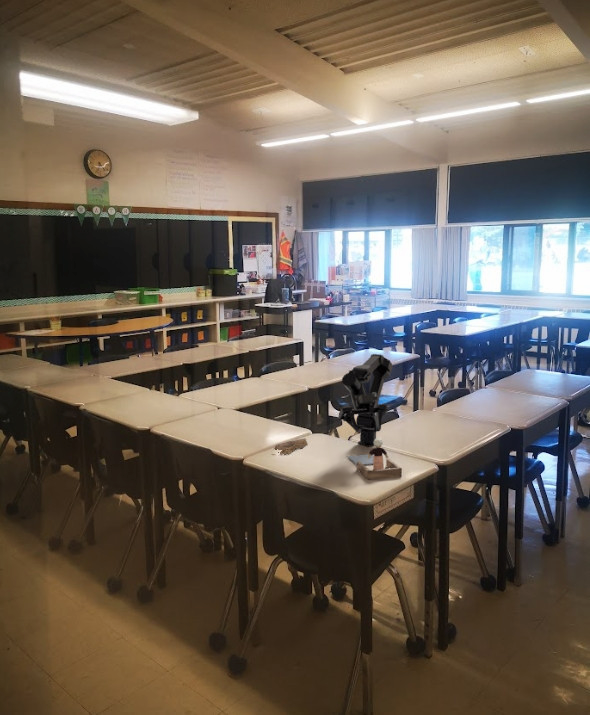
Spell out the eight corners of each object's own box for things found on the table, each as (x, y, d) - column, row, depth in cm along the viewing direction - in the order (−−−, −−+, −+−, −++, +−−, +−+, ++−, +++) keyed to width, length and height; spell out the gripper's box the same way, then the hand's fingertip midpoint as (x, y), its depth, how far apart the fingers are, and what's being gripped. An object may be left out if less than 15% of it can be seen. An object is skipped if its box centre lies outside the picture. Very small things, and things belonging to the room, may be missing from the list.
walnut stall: (356, 469, 224) (356, 461, 224) (388, 466, 228) (388, 458, 227) (368, 479, 214) (368, 471, 213) (401, 476, 217) (401, 468, 217)
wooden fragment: (283, 458, 237) (283, 455, 237) (261, 453, 243) (261, 450, 243) (318, 442, 258) (318, 439, 258) (297, 437, 264) (297, 435, 264)
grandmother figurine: (384, 468, 225) (385, 436, 223) (388, 471, 222) (389, 439, 220) (365, 470, 223) (366, 437, 221) (370, 474, 219) (370, 440, 217)
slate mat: (347, 457, 237) (347, 456, 237) (371, 455, 240) (371, 454, 240) (357, 466, 228) (357, 464, 227) (381, 463, 230) (381, 462, 230)
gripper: (341, 386, 228) (351, 422, 219) (386, 383, 233) (398, 418, 224) (334, 401, 237) (343, 436, 228) (378, 398, 242) (388, 432, 233)
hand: (368, 430), depth 228 cm, fingers open, 9 cm apart
